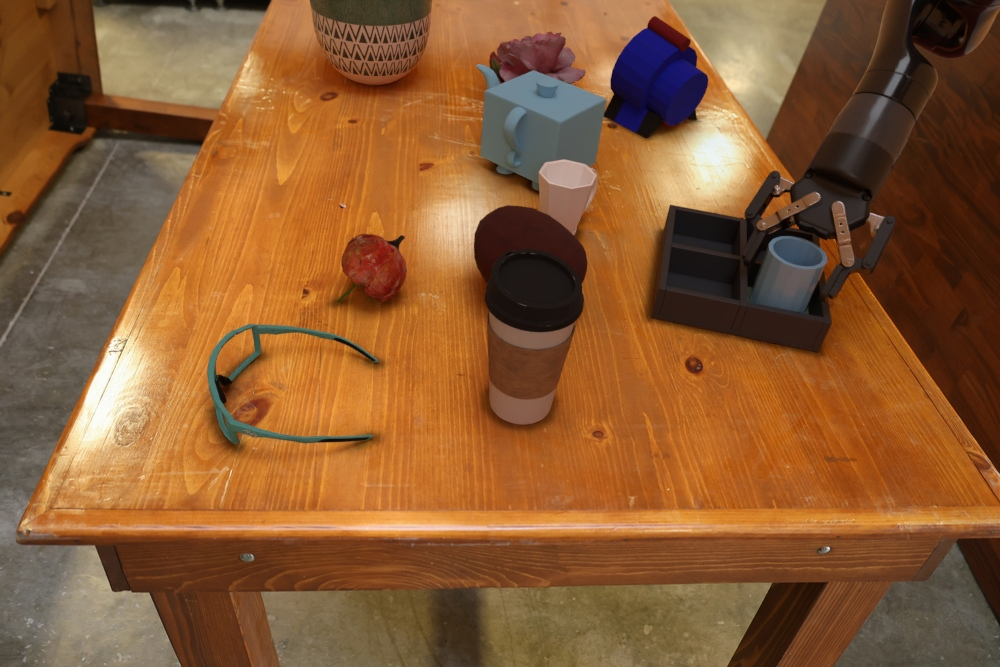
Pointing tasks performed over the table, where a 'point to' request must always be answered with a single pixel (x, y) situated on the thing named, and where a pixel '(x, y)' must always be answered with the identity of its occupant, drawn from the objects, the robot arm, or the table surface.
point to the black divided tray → (727, 282)
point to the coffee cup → (529, 331)
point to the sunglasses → (219, 380)
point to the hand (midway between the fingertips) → (783, 282)
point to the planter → (372, 36)
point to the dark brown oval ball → (525, 238)
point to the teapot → (538, 123)
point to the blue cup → (788, 274)
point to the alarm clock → (655, 80)
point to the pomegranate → (374, 265)
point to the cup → (566, 191)
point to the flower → (535, 58)
